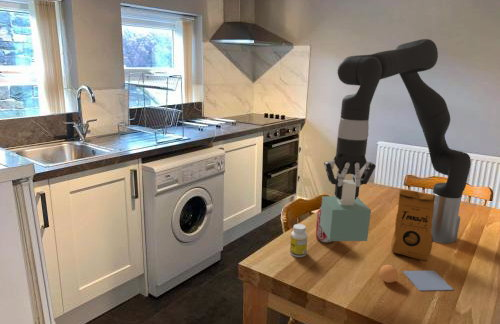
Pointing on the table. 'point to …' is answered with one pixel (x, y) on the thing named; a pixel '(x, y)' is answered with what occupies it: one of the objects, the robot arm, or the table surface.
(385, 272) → the ball
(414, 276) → the tape square
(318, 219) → the soda can
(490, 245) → the table surface
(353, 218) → the teal cube
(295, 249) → the supplement bottle
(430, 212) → the coffee package
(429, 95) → the robot arm
